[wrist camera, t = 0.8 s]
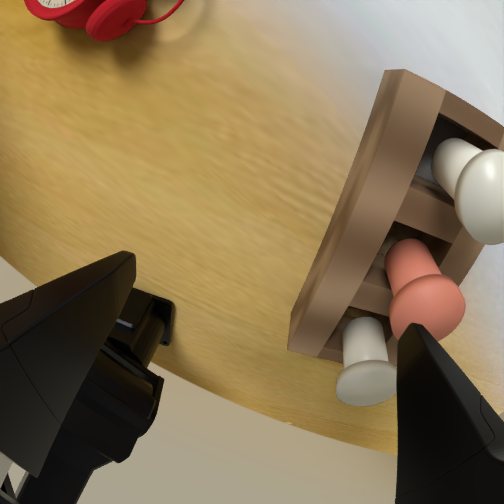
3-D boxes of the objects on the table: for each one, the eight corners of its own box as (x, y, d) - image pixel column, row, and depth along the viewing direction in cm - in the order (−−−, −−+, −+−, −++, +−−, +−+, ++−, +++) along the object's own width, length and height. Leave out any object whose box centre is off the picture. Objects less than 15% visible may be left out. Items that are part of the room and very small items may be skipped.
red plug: (417, 292, 18) (436, 351, 14) (365, 276, 18) (377, 337, 14) (447, 243, 16) (479, 296, 12) (393, 221, 16) (418, 276, 12)
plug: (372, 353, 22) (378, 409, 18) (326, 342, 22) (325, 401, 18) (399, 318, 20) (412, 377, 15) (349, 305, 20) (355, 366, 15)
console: (385, 336, 26) (392, 372, 22) (291, 312, 26) (286, 350, 23) (498, 132, 15) (531, 148, 11) (384, 70, 15) (405, 69, 11)
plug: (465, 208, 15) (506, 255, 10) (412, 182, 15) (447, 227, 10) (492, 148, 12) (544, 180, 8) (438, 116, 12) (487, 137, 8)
